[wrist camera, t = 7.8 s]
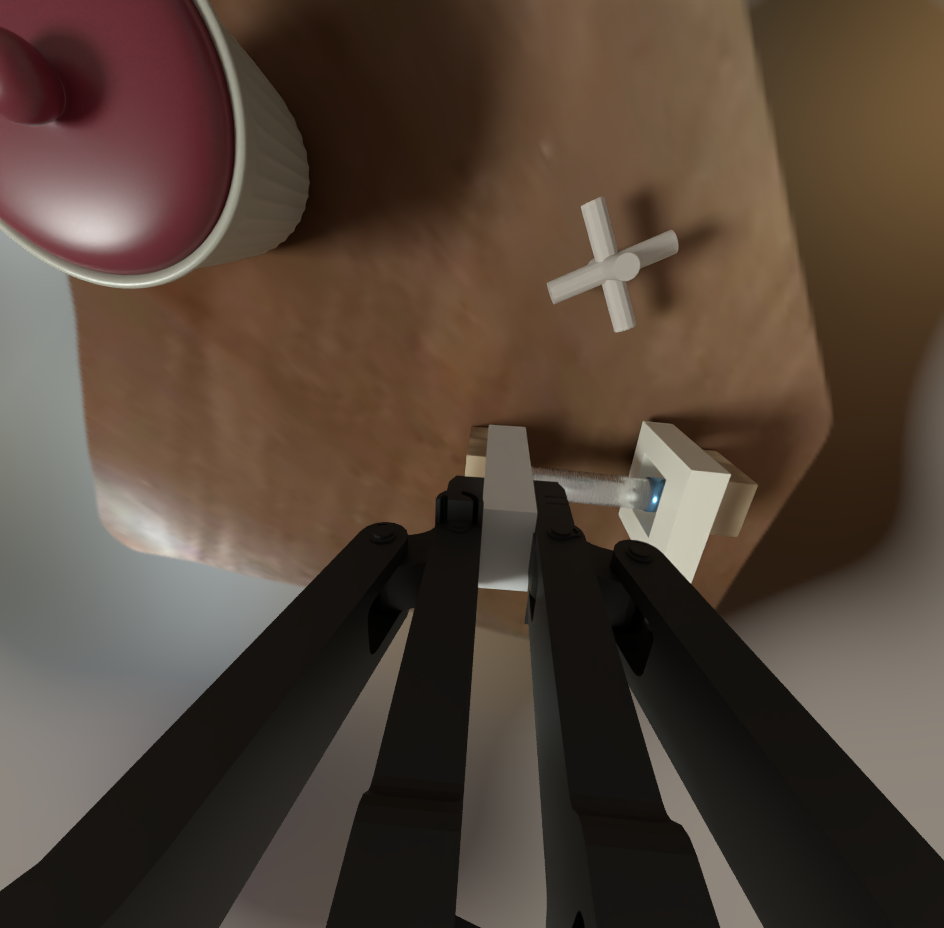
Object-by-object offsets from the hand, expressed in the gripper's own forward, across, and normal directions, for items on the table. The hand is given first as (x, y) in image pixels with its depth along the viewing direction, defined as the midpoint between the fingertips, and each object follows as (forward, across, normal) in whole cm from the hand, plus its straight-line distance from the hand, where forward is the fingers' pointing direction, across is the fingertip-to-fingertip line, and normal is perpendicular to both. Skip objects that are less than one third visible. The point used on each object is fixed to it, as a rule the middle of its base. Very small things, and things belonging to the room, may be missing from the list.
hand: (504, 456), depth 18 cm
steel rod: (+22, +10, -12) cm, 27 cm away
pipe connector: (+28, +8, +7) cm, 30 cm away
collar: (+26, +16, -12) cm, 33 cm away
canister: (+28, -24, +13) cm, 39 cm away
